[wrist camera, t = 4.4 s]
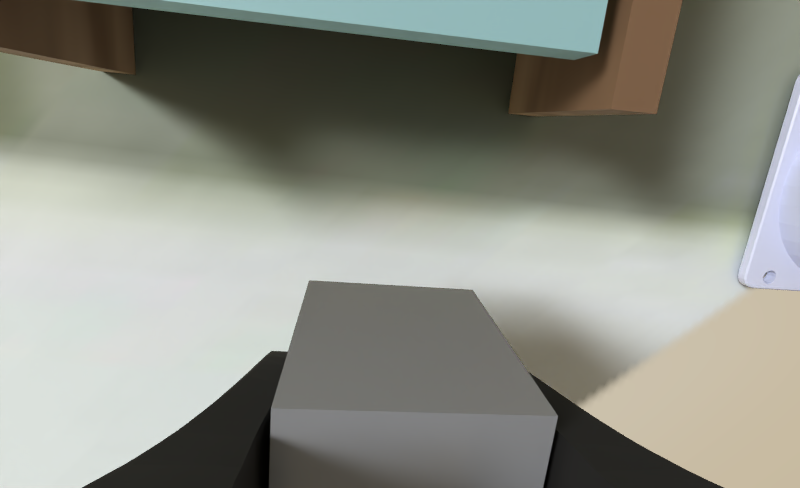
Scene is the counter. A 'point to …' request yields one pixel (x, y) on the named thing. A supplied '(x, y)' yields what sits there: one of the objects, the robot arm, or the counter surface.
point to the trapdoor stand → (533, 77)
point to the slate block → (405, 395)
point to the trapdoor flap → (424, 20)
